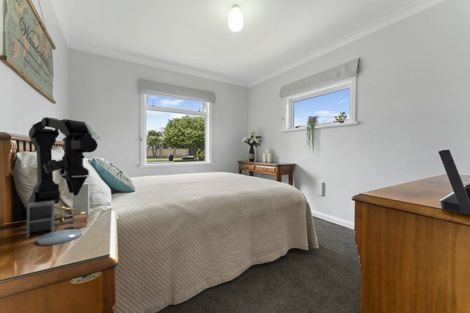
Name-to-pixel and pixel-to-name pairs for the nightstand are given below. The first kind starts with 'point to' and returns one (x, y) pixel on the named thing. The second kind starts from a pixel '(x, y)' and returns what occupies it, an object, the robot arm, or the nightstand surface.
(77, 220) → the block
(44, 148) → the robot arm
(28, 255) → the nightstand surface
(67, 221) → the balance
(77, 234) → the dish
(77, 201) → the skincare box
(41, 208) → the covering hood
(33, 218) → the empty hood
